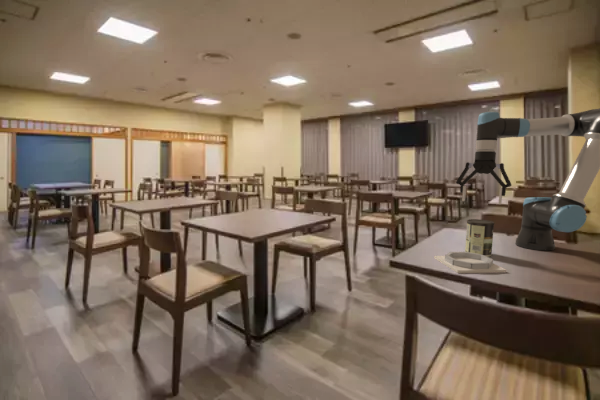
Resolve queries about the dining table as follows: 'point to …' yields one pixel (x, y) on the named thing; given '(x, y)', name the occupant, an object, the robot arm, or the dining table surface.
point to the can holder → (469, 263)
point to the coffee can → (479, 237)
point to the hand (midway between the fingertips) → (481, 202)
